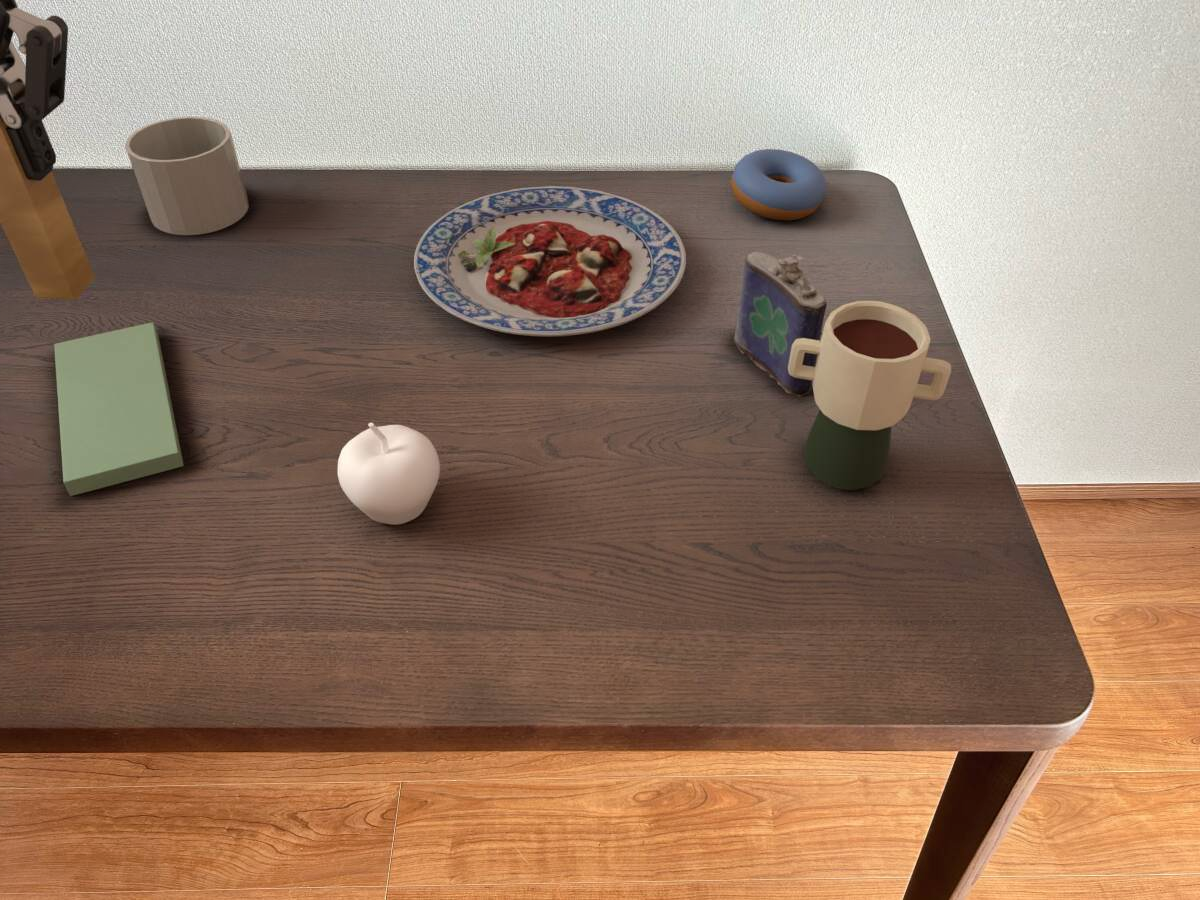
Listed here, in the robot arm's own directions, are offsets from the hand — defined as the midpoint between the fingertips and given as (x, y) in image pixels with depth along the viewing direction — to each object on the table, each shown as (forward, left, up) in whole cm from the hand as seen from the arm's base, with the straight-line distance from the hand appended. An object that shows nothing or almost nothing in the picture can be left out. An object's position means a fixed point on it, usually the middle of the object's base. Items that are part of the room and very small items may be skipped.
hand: (14, 172), depth 64 cm
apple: (+25, -8, -21) cm, 34 cm away
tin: (-6, +31, -21) cm, 38 cm away
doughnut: (+54, +40, -21) cm, 70 cm away
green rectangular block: (0, 0, -21) cm, 21 cm away
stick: (0, 0, -9) cm, 9 cm away
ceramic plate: (+32, +24, -21) cm, 45 cm away
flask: (+53, +12, -21) cm, 58 cm away
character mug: (+58, 0, -21) cm, 62 cm away
